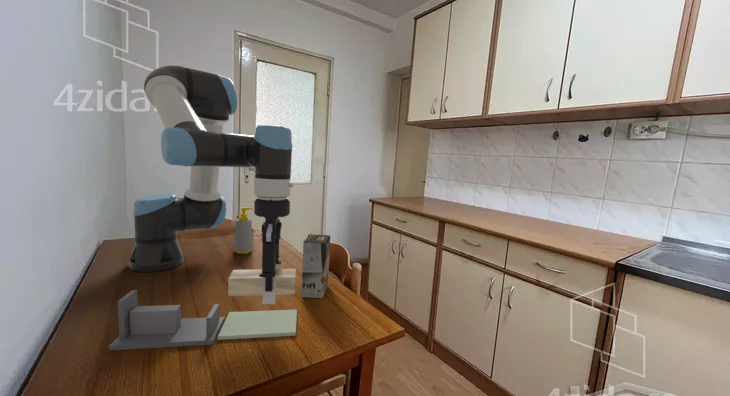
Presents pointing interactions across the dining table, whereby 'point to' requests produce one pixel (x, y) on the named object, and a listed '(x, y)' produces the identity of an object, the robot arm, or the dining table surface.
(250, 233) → the soap bottle
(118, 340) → the cradle
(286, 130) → the robot arm
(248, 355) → the dining table surface
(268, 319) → the sage mat
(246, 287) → the maple bar
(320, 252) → the coffee box
